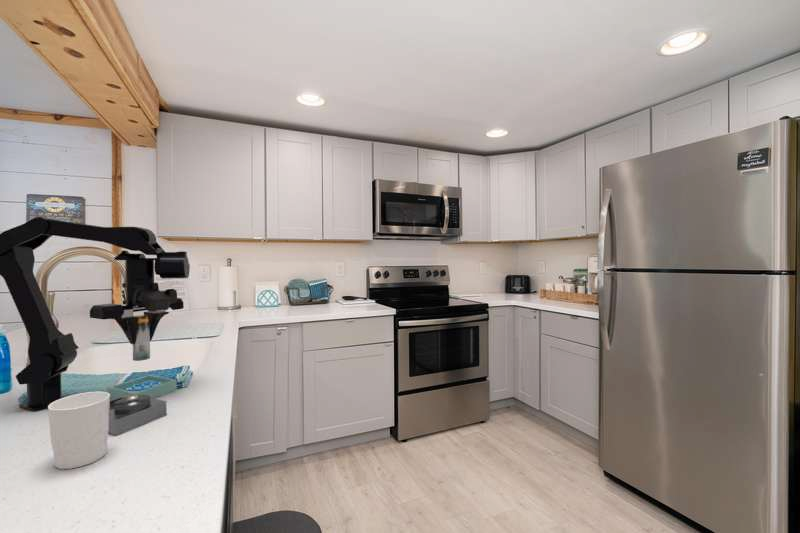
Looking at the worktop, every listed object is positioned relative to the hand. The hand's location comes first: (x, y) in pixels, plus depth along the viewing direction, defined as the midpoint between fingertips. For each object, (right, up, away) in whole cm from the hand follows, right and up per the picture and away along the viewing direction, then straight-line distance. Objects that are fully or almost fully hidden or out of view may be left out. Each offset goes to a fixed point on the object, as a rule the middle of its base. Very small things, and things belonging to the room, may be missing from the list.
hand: (141, 342), depth 90 cm
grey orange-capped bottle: (0, -4, 0) cm, 4 cm away
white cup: (+10, -14, -28) cm, 33 cm away
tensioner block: (+6, -13, -13) cm, 20 cm away
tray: (0, -13, +1) cm, 13 cm away
